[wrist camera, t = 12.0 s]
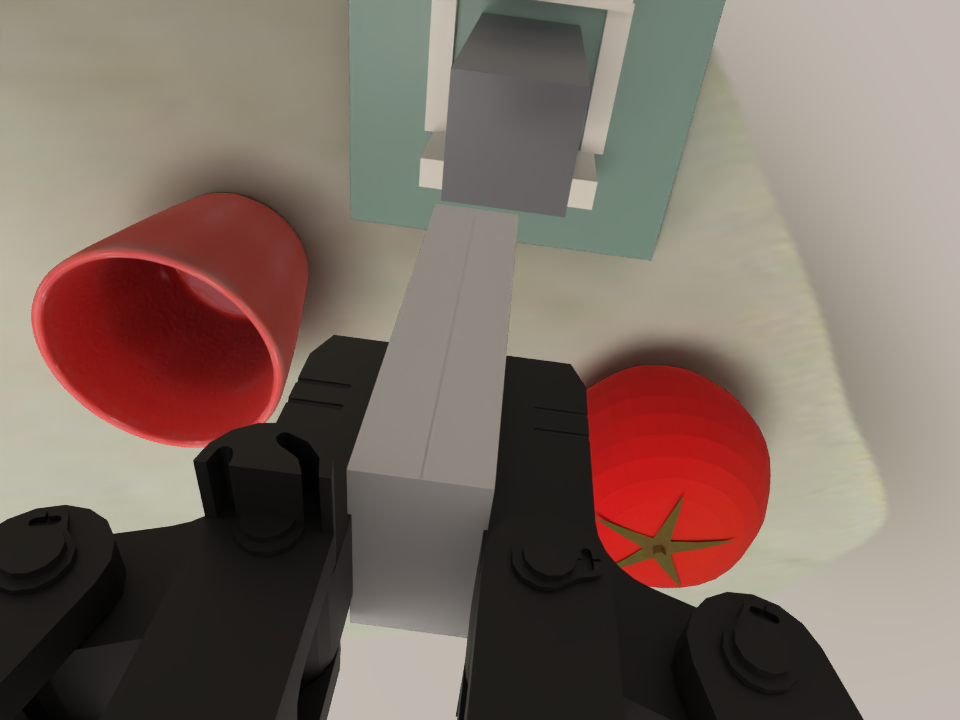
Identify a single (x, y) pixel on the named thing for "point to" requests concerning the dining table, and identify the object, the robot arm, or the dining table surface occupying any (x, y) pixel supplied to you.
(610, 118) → the board
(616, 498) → the tomato
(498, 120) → the plug
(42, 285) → the flower pot
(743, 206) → the dining table surface
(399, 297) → the dining table surface
